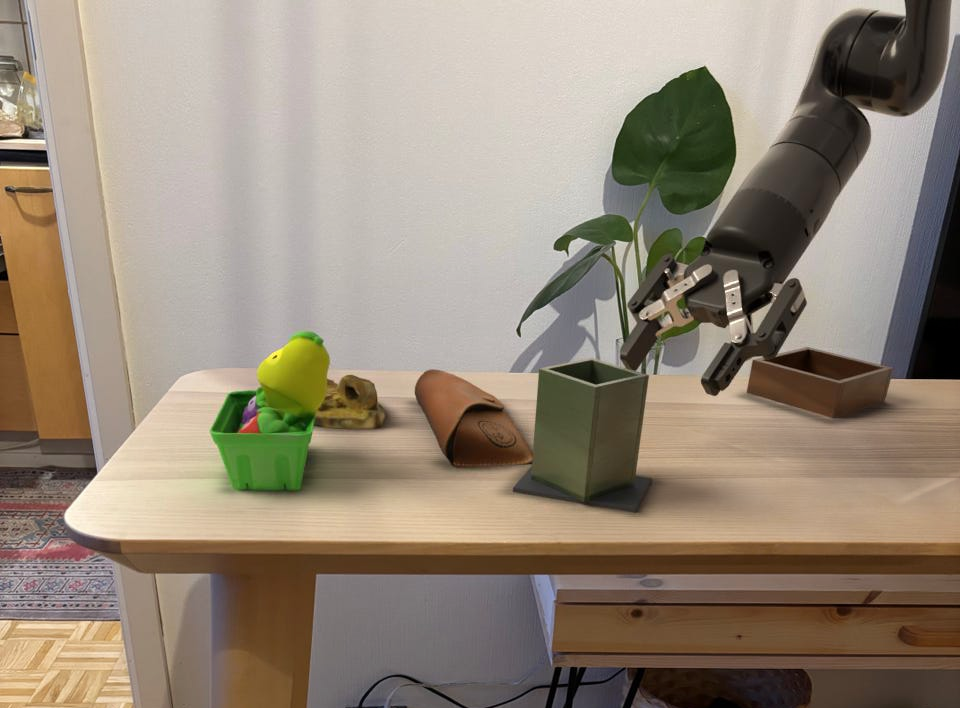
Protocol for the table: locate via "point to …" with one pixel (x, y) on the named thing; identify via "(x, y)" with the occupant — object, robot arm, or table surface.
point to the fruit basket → (274, 417)
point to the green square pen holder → (588, 427)
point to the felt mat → (615, 500)
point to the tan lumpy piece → (350, 405)
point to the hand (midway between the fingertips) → (665, 376)
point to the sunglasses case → (469, 422)
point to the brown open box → (819, 381)
